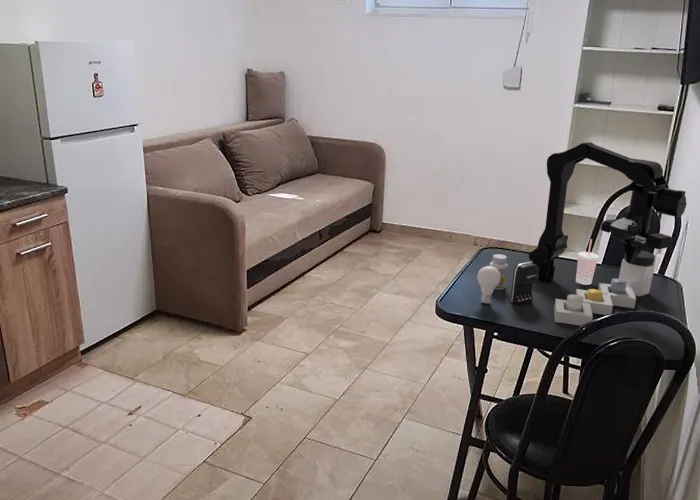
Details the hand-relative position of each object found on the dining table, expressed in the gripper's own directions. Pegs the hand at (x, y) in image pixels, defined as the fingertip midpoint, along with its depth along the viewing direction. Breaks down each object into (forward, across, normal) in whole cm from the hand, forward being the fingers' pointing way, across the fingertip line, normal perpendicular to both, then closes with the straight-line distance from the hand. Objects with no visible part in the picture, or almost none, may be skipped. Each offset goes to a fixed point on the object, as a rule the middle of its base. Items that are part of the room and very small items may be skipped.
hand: (629, 263), depth 172 cm
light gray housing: (+13, -4, +2) cm, 14 cm away
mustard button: (+12, -3, -8) cm, 15 cm away
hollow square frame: (+13, -3, -8) cm, 16 cm away
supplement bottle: (+13, -26, -24) cm, 37 cm away
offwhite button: (+11, 0, -20) cm, 23 cm away
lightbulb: (+13, -17, -35) cm, 41 cm away
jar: (+13, -6, +13) cm, 20 cm away
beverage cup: (+13, -18, +5) cm, 23 cm away
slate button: (+11, -4, +2) cm, 12 cm away
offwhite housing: (+13, 0, -20) cm, 24 cm away
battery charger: (+13, -14, -25) cm, 31 cm away
